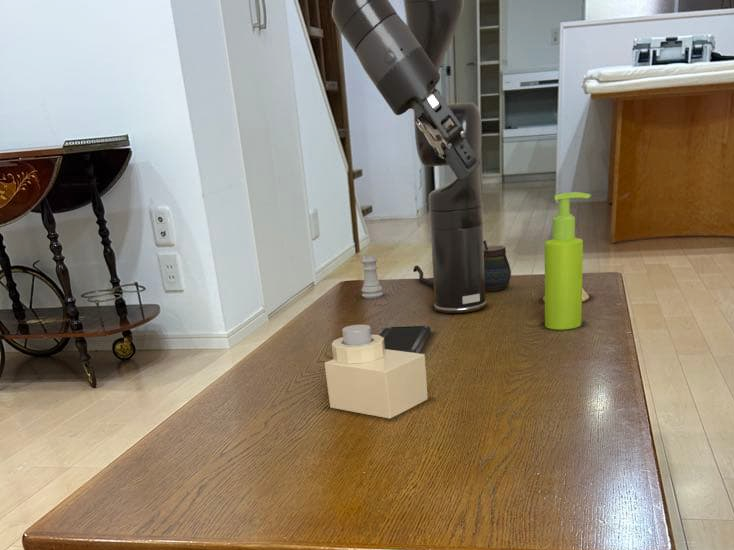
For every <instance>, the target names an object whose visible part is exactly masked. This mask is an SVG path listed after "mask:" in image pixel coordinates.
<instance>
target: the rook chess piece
mask: <svg viewBox="0 0 734 550" xmlns="http://www.w3.org/2000/svg"><path fill="white" fill-rule="evenodd" d="M360 262H361V263H362V264H363V268H362V270H363V272H364V273H363V275H364V277H363V279H364V280H363V284H362V287H361V289H360V290H361V292H362V294H361V296H362V298H363V299H365V300H366V299H368V300H372V299H373V300H374V299H378V298H381V297H383V296H384V292H383V286H382V285H381V282H380V281H379V277H378V274H377V269H378V267H377V265H376V264H377V262H378V259H377V257H376V254H373V253H371V254H363V255H362V259H361V260H360Z"/></svg>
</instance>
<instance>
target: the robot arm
mask: <svg viewBox="0 0 734 550" xmlns="http://www.w3.org/2000/svg"><path fill="white" fill-rule="evenodd" d="M464 4H465V0H403V7H404V14H405V21H406V23H405V22H404V20H403V19H402V18H401V17H400V15H399V14H398V13H397V11H396V10H395V8H394V7H393V6H392V3H391V2H390V1H389V0H333V2H332V7H331V17H332V20H333V22H334V24H335V26H336V27H337V29H338V31H339V32H340V33H341V35H342V37H343V38H344V39H345V41H346V42H347V44H348V45H349V46H350V48H351V50H352V51H353V52H354V54H355V55H356V57H357V59H358V61H359V62H360V64H361V66H362V68H363V71H364V72H365V74H367V76H368V77H369V79H370V80H371V82H372V83H373V85H374V86H375V87H376V89H377V91H378V92H379V94H380V95H381V96H382V98H383V99H384V101H385V102H386V104H387V105H388V106H389V108H390V109H391V111H392V113H394V115H396V116H401V115H403V114H405V113H407V111H408V110H413V125H414V140H415V145H416V146H415V148H416V152H417V157H418V158H419V159H418V160H419V161H420V163H421V164H422V165H424V166H425V167H443V166H444V167H445V166H448V167H449V168H450V169H451V171H452V173H454V175H455V176H456V177H455V178H454V179H452V180H451V181H450V182H448V183H446V184H445V185H443V186H441V187H438V188H436V189H434V190H432V191H431V192H430V193H429V194H428V213H429V230H430V246H431V260H432V277H433V279H432V280H433V281H432V280H429V279H426V278H424V271H423V270H422V268H421V267H420V266H419V265H414V267H413V270H412V271H413V273H418V274H419V276H418V279H419V281H420V282H421V283H423V284H425V285H428V286H431V287H433V291H434V292H433V293H434V310H435V311H436V312H439V313H443V314H464V313H472V312H477V311H481V310H483V309H485V308H486V307H487V300H486V291H485V272H484V243H483V241H484V218H483V217H484V216H483V183H482V180H483V179H482V150H483V149H482V145H483V126H482V116H481V112H480V110H479V108H478V107H479V106H477V105H476V104H475V103H474V102H455V103H447V102H446V100H445V99H444V97H443V96H442V94H441V92H440V90H438V89H437V85H438V83H439V82H440V80H441V74H440V69H441V66H442V63H443V61H444V58H445V55H446V53H447V50H448V49H449V46H450V44H451V42H452V40H453V38H454V36H455V33H456V31H457V28H458V26H459V24H460V21H461V19H462V15H463V11H464V7H465V5H464Z"/></svg>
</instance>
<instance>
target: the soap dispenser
mask: <svg viewBox="0 0 734 550" xmlns="http://www.w3.org/2000/svg"><path fill="white" fill-rule="evenodd" d="M591 196H592V194H591V193H588V192H581V191H569V192H563V193H562V192H561V193H556V194H554V201H557V202H558V207H557V208H558V209H557V210H558V211H557V213H558V214H556V215H555V216H553V218H552V238H551V239H548V240H546V241H544V296H545V302H544V328H547V329H550V330H563V331H564V330H572V329H576V328H579V327H581V326H582V321H583V319H582V318H583V316H582V315H583V314H582V312H583V302H582V288H583V267H584V265H583V263H584V261H583V259H584V240H583V239H582V238H578V237H576V216H575V215H573V214H572V213H571V211H570V209H571V199H576V198H577V199H578V198H579V199H587V200H588V199H590V198H591ZM570 213H571V214H570Z"/></svg>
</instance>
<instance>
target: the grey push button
mask: <svg viewBox="0 0 734 550" xmlns="http://www.w3.org/2000/svg"><path fill="white" fill-rule="evenodd" d="M341 331H342V337H343V341H344V345H350V346H351V345H362V344H367V343H370V342H372V336H371V334H372V327H371V326H370V325H369V324H353V325H352V324H351V325H348V326H344V328H342V329H341Z"/></svg>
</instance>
